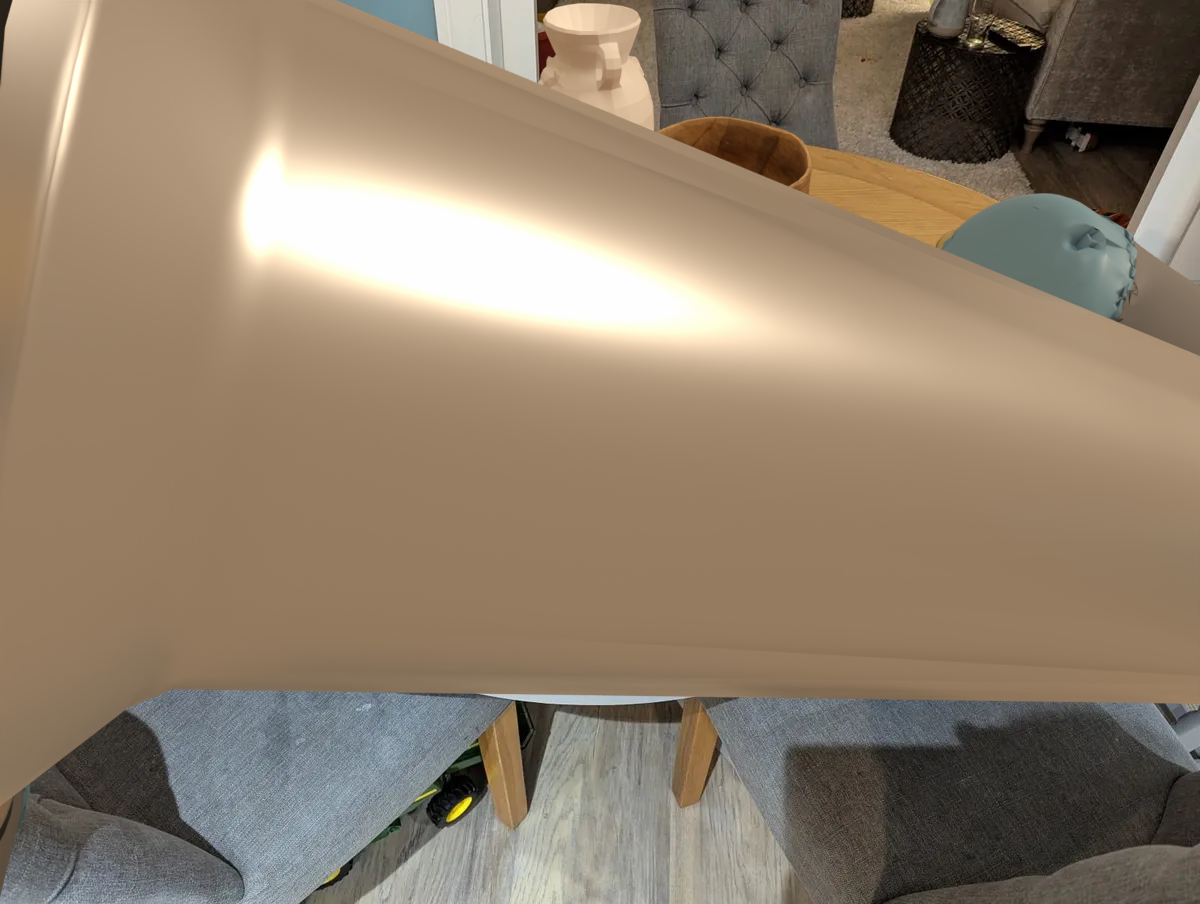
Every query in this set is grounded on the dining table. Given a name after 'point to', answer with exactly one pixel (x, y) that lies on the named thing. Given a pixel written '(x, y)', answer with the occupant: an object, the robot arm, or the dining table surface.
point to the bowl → (749, 147)
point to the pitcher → (598, 59)
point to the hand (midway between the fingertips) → (716, 509)
